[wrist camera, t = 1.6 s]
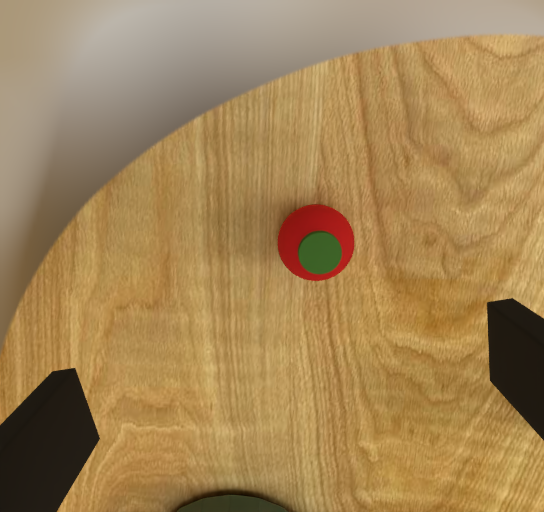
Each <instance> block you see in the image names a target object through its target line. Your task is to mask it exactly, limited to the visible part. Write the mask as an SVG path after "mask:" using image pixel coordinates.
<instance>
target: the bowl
mask: <svg viewBox="0 0 544 512" xmlns="http://www.w3.org/2000/svg"><path fill="white" fill-rule="evenodd" d="M176 512H289V511H287V510H286V509H285V508H283V507H281V506H278V505H276V504H273V503H271V502H268V501H266V500H263V499H261V498H257V497H249V496H241V495H233V494H232V495H223V496H215V497H208V498H203V499H200V500H198V501H196V502H193V503H191V504H188V505H186V506H184V507H181V508H180V509H179V510H177V511H176Z"/></svg>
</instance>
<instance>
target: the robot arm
mask: <svg viewBox="0 0 544 512" xmlns="http://www.w3.org/2000/svg"><path fill="white" fill-rule="evenodd" d="M487 314H488V341H489V368H490V381H491V382H492V383H493V385H494V386H495V387H496V388H497V389H498V390H499V391H500V392H501V393H502V394H503V396H504V397H505V398H506V399H507V400H508V401H509V402H510V403H511V404H512V406H513V407H514V408H515V409H516V410H517V411H518V412H519V413H520V414H521V416H522V417H523V418H524V419H525V420H526V421H527V422H528V423H529V424H530V426H531V427H532V428H533V429H534V430H535V431H536V432H537V433H538V434H539V436H540V437H541V438H542V439H543V440H544V319H543V318H542V317H540V316H539V315H537V314H536V313H534V312H533V311H531V310H530V309H528V308H527V307H525V306H524V305H522V304H521V303H519V302H517V301H516V300H514V299H513V298H511V299H505V300H499V301H493V302H487ZM99 439H100V438H99V435H98V432H97V429H96V426H95V423H94V420H93V418H92V415H91V412H90V409H89V406H88V403H87V400H86V398H85V395H84V392H83V389H82V386H81V383H80V381H79V378H78V375H77V372H76V369H75V368H71V369H65V370H59V371H53V372H51V374H50V375H49V376H48V377H47V378H46V379H45V380H44V381H43V382H42V383H41V384H40V385H39V386H38V387H37V388H36V389H35V390H34V391H33V392H32V393H31V394H30V395H29V396H28V397H27V398H26V399H25V400H24V401H23V402H22V403H21V404H20V405H19V406H18V408H17V409H16V410H15V411H14V412H13V413H12V414H11V415H10V416H9V417H8V418H7V419H6V420H5V421H4V422H3V423H2V424H1V425H0V512H57V510H58V508H59V507H60V505H61V503H62V502H63V500H64V498H65V497H66V495H67V493H68V491H69V490H70V488H71V486H72V485H73V483H74V481H75V480H76V478H77V476H78V475H79V473H80V471H81V470H82V468H83V466H84V464H85V463H86V461H87V459H88V458H89V456H90V454H91V453H92V451H93V449H94V448H95V446H96V444H97V442H98V441H99Z"/></svg>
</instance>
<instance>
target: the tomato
mask: <svg viewBox="0 0 544 512" xmlns="http://www.w3.org/2000/svg"><path fill="white" fill-rule="evenodd" d="M278 251H279V254H280V257H281V260H282V261H283V263H284V265H285V266H286V267H287V268H288V269H289V270H290V271H291V272H292V273H293V274H295V275H296V276H298V277H300V278H303V279H306V280H312V281H321V280H326V279H329V278H332V277H334V276H335V275H337V274H338V273H340V272H341V271H342V270H343V269H344V268H345V267H346V266H347V264H348V263H349V261H350V259H351V257H352V254H353V251H354V234H353V231H352V228H351V226H350V224H349V222H348V221H347V219H346V218H345V217H344V216H343V215H342V214H341V213H340V212H338V211H337V210H335V209H333V208H331V207H329V206H325V205H317V204H314V205H307V206H304V207H301V208H299V209H297V210H295V211H294V212H293V213H291V214H290V215H289V216H288V217H287V218H286V220H285V221H284V222H283V224H282V226H281V228H280V231H279V235H278Z"/></svg>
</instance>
